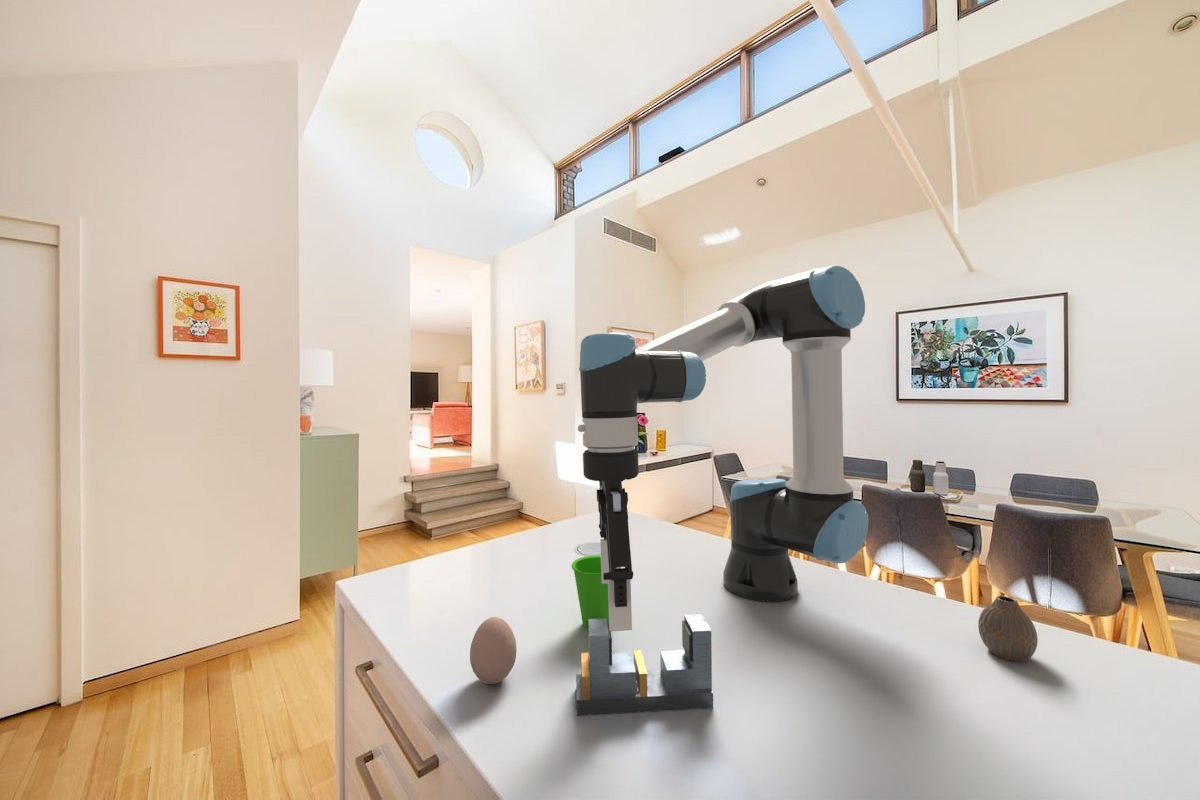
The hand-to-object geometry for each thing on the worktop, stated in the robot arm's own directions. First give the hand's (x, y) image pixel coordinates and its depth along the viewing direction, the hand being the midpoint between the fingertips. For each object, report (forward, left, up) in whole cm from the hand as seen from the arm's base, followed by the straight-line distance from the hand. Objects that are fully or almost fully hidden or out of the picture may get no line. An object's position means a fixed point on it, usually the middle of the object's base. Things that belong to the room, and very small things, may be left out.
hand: (615, 603), depth 61 cm
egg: (+17, -5, -13) cm, 22 cm away
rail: (-4, 0, -13) cm, 14 cm away
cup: (+1, -20, -13) cm, 24 cm away
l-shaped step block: (+1, 0, -11) cm, 11 cm away
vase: (-63, -5, -13) cm, 64 cm away
